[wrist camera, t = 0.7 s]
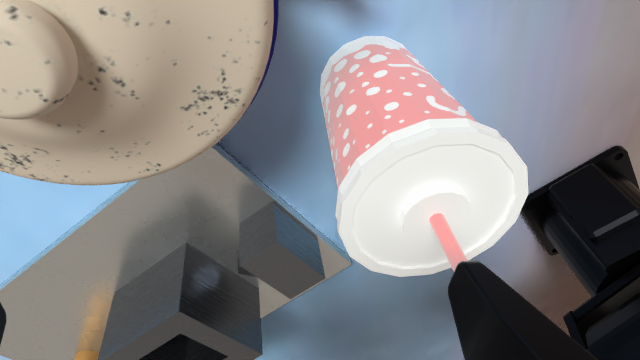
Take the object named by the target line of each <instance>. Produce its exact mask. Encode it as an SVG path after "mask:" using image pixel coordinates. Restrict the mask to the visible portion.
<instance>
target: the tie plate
mask: <svg viewBox="0 0 640 360" xmlns="http://www.w3.org/2000/svg"><path fill="white" fill-rule="evenodd" d="M186 242H187V243H189V244H190V245H192V246H193V247H195V248H196V249H198V250H199V251H201V252H203V253H204V254H206V255H207V256H209V257H210V258H212V259H213V260H215V261H217V262H218V263H220V264H221V265H223V266H224V267H226V268H228V269H229V270H231V271H232V272H234V273H235V274H237V275H238V276H240V277H242V278H243V279H245V280H246V281H248V282H249V283H251V284H253V285H254V286H256V287H257V288H259V300H260V318H263V317H264V316H266V315H268V314H269V313H271V312H273V311H274V310H276V309H278V308H280V307H281V306H283V305H285V304H286V303H288V302H290V301H291V300H293V299H295V298H296V297H298V296H300V295H301V294H303V293H305V292H306V291H308V290H310V289H311V288H313V287H315V286H316V285H318V284H320V283H321V282H323V281H325V280H326V279H328V278H330V277H332V276H333V275H335V274H337V273H338V272H340V271H342V270H343V269H345V268H347V267H348V266H350V265H352V263H351V260H350V257H349V256H348V255H347V254H346V253H344V252H343V251H342V250H341V249H340V248H338V247H337V246H336V245H335V244H334V243H333V242H331V241H330V240H329V239H328V238H327V237H326V236H324V235H323V234H322V233H321V232H320V231H318V230H317V229H316V228H315V227H314V226H313V225H311V224H310V223H309V222H308V221H307V220H305V219H304V218H303V217H302V216H301V215H300V214H298V213H297V212H296V211H295V210H294V209H293V208H291V207H290V206H289V205H288V204H287V203H285V202H284V201H283V200H282V199H281V198H280V197H278V196H277V195H276V194H275V193H274V192H273V191H271V190H270V189H269V188H268V187H267V186H265V185H264V184H263V183H262V182H261V181H260V180H258V179H257V178H256V177H255V176H254V175H253V174H251V173H250V172H249V171H248V170H247V169H245V168H244V167H243V166H242V165H241V164H240V163H238V162H237V161H236V160H235V159H234V158H233V157H231V156H230V155H229V154H228V153H227V152H225V151H224V150H223V149H222V148H221V147H220V146H218V145H217V144H215V145H213V146H212V147H211V148H210V149H208V150H207V151H206V152H204V153H202V154H201V155H199V156H198V157H196V158H194V159H193V160H191V161H189V162H187V163H185V164H183V165H181V166H179V167H177V168H174V169H172V170H169V171H167V172H164V173H162V174H159V175H155V176H152V177H149V178H145V179H141V180H136V181H131V182H129V183H128V184H126V185H125V186H124V187H123V188H121V189H120V190H119V191H118V192H116V193H115V194H114V195H113V196H111V197H110V198H109V199H108V200H106V201H105V202H104V203H102V204H101V205H100V206H99V207H97V208H96V209H95V210H94V211H92V212H91V213H90V214H89V215H87V216H86V217H85V218H84V219H82V220H81V221H80V222H79V223H77V224H76V225H75V226H74V227H72V228H71V229H70V230H69V231H67V232H66V233H65V234H64V235H62V236H61V237H60V238H59V239H57V240H56V241H55V242H54V243H52V244H51V245H50V246H49V247H47V248H46V249H45V250H44V251H42V252H41V253H40V254H39V255H37V256H36V257H35V258H34V259H32V260H31V261H30V262H29V263H27V264H26V265H25V266H24V267H22V268H21V269H20V270H19V271H17V272H16V273H15V274H13V275H12V276H11V277H10V278H8V279H7V280H6V281H5V282H3V283H2V284H1V285H0V302H1V304H2V306H3V308H4V310H5V312H6V326H5V330H4V334H3V338H2V341H1V345H0V355H1V356H4V357H7V358H10V359H13V360H74V358H75V355H76V354H77V353H78V352H80V351H86V350H89V351H95V352H97V353H99V352H100V348H101V344H102V340H103V336H104V332H105V328H106V324H107V320H108V316H109V312H110V308H111V304H112V300H113V296H114V293H115V292H116V291H118V290H119V289H120V288H122V287H123V286H125V285H126V284H128V283H129V282H130V281H132V280H133V279H135V278H136V277H137V276H139V275H140V274H142V273H143V272H145V271H146V270H147V269H149V268H150V267H152V266H153V265H155V264H156V263H157V262H159V261H160V260H162V259H163V258H164V257H166V256H167V255H169V254H170V253H172V252H173V251H174V250H176V249H177V248H179V247H180V246H182V245H183V244H184V243H186Z"/></svg>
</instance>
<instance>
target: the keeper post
mask: <svg viewBox="0 0 640 360" xmlns="http://www.w3.org/2000/svg"><path fill="white" fill-rule="evenodd" d="M98 356H99V353H97V352H95V351H89V350H86V351H80V352H78V353H77V354H76V355H75V358H74V360H98Z"/></svg>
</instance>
